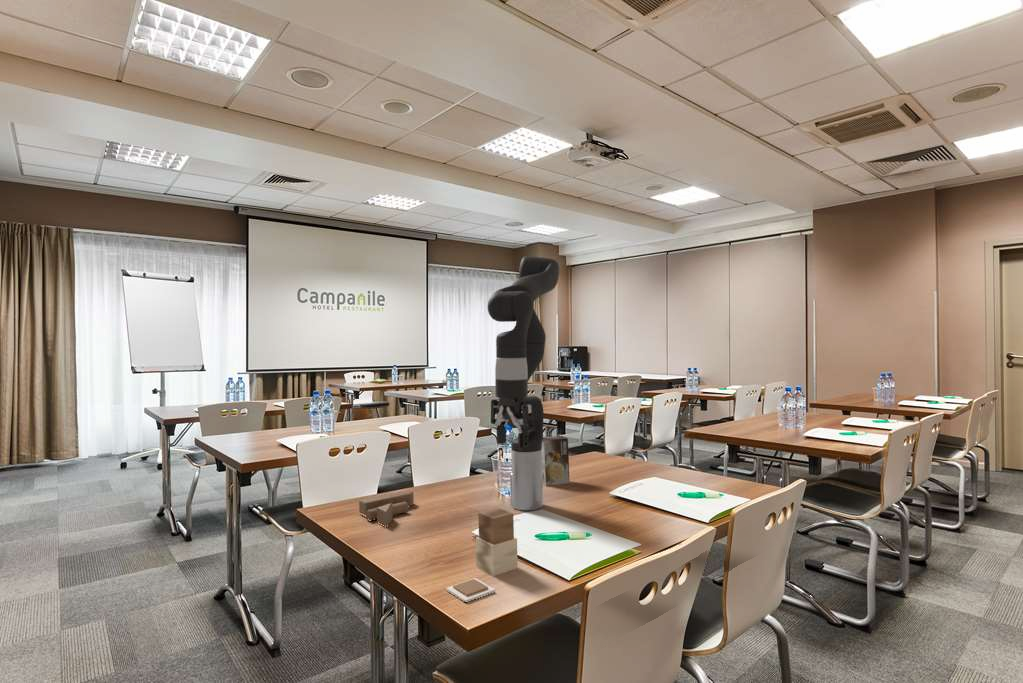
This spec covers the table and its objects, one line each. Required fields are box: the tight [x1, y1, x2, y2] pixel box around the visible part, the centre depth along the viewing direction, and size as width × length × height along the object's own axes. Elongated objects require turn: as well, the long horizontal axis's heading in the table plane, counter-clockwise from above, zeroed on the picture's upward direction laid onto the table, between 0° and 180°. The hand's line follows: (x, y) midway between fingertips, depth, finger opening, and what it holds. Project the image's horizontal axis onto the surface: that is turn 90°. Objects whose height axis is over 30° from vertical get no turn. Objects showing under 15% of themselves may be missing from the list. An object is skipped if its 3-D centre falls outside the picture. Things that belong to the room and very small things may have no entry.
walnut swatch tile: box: [445, 577, 496, 603], centre depth 106 cm, size 7×7×1 cm
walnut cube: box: [477, 507, 515, 545], centre depth 118 cm, size 6×6×6 cm
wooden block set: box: [358, 490, 415, 526], centre depth 157 cm, size 17×6×18 cm
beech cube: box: [475, 536, 519, 577], centre depth 118 cm, size 6×6×6 cm
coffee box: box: [542, 435, 571, 487], centre depth 190 cm, size 9×6×16 cm
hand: (512, 446), depth 125 cm, fingers open, 8 cm apart
